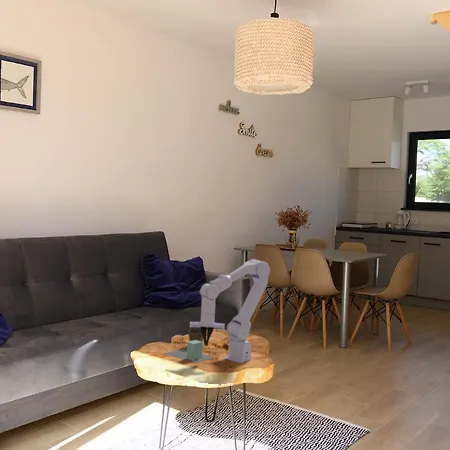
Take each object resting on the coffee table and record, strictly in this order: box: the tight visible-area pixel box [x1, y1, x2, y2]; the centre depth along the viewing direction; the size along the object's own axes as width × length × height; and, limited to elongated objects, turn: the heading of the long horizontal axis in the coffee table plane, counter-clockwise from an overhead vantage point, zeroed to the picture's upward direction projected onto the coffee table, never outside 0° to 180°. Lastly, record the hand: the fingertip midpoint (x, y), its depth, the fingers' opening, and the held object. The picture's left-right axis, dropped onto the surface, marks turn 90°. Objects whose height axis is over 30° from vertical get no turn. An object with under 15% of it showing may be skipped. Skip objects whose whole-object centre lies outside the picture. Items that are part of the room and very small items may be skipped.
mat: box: [164, 348, 214, 364], centre depth 235 cm, size 18×12×1 cm, turn 50°
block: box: [186, 340, 203, 360], centre depth 231 cm, size 4×5×7 cm
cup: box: [188, 327, 204, 343], centre depth 250 cm, size 8×7×8 cm
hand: (206, 345), depth 227 cm, fingers closed
